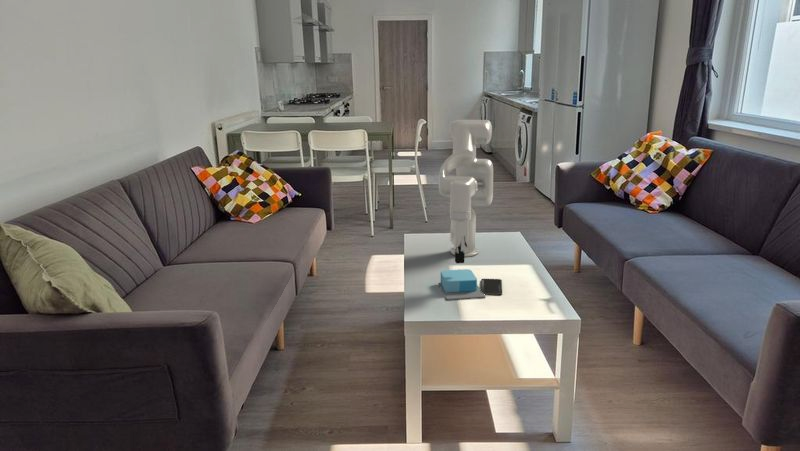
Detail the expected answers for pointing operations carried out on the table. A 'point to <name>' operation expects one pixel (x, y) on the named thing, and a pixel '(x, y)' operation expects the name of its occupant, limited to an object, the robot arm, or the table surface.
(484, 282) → the phone
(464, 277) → the data package
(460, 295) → the mat
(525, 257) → the table surface
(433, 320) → the table surface
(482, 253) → the table surface
